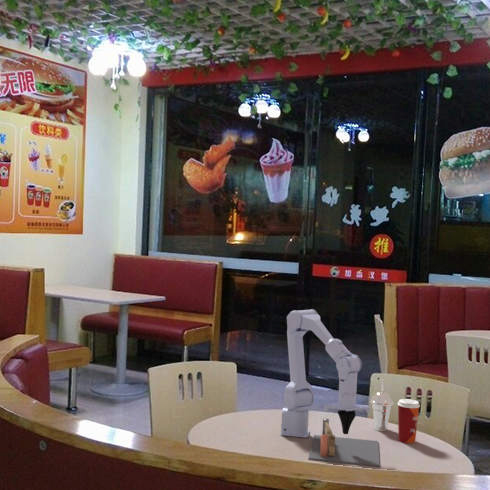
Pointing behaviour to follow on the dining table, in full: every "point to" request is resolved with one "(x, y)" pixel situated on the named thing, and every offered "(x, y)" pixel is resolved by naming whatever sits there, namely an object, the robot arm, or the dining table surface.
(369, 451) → the mat
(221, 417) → the dining table surface
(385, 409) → the cup with straw
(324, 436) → the post
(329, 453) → the gate
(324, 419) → the hinge post
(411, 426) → the paper cup
